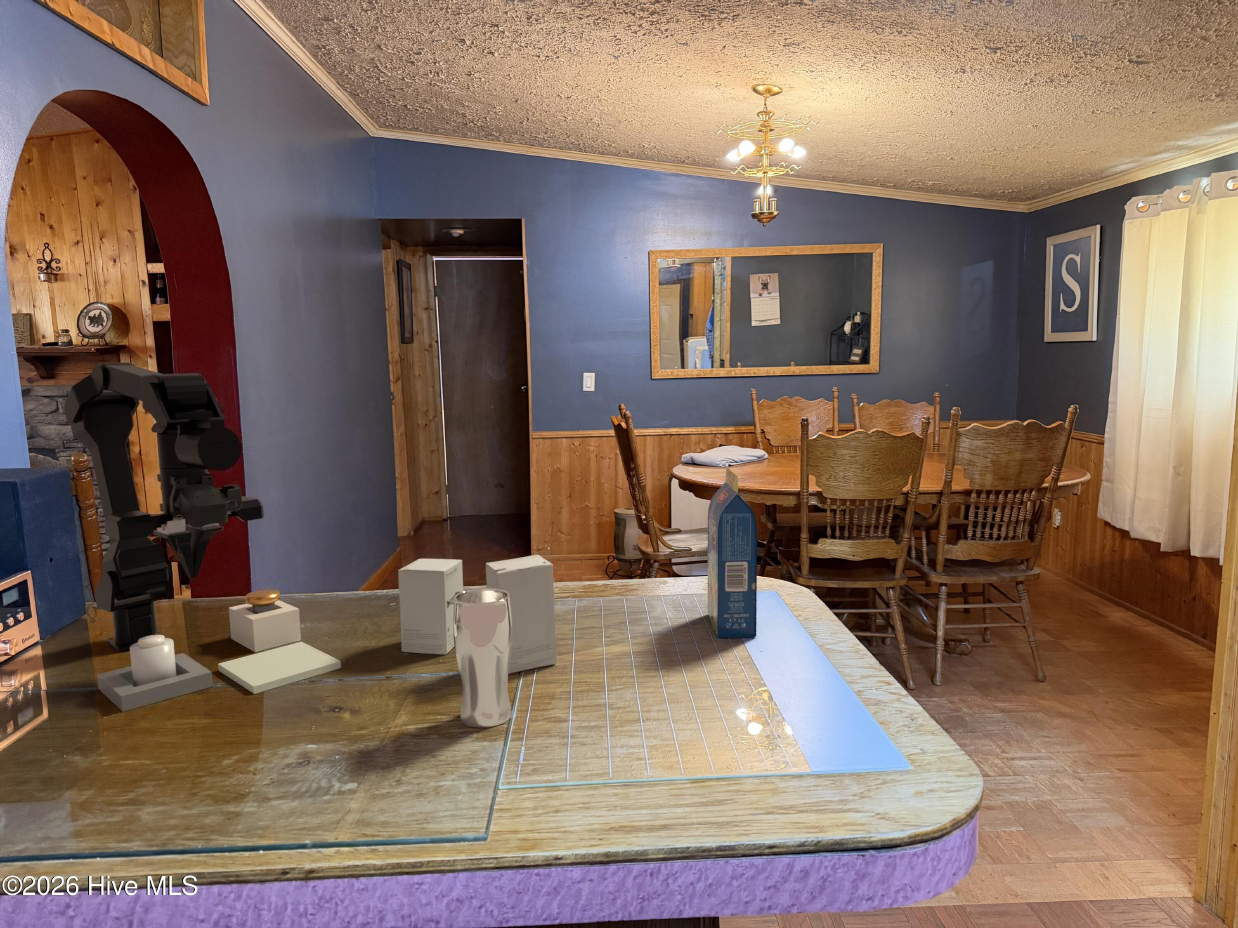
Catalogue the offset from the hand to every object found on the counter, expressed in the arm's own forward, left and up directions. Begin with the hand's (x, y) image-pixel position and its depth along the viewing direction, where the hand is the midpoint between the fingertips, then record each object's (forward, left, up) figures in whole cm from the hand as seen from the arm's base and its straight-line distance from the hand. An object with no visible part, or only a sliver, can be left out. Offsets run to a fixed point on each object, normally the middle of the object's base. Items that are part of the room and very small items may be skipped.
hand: (192, 578), depth 112 cm
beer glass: (+42, +17, -13) cm, 48 cm away
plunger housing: (-6, +11, -13) cm, 18 cm away
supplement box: (+16, +27, -13) cm, 35 cm away
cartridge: (+2, -7, -13) cm, 15 cm away
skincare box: (+32, +31, -13) cm, 47 cm away
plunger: (-6, +11, -11) cm, 17 cm away
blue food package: (+44, +64, -13) cm, 79 cm away
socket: (+2, -7, -13) cm, 15 cm away
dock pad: (+8, +7, -13) cm, 17 cm away
